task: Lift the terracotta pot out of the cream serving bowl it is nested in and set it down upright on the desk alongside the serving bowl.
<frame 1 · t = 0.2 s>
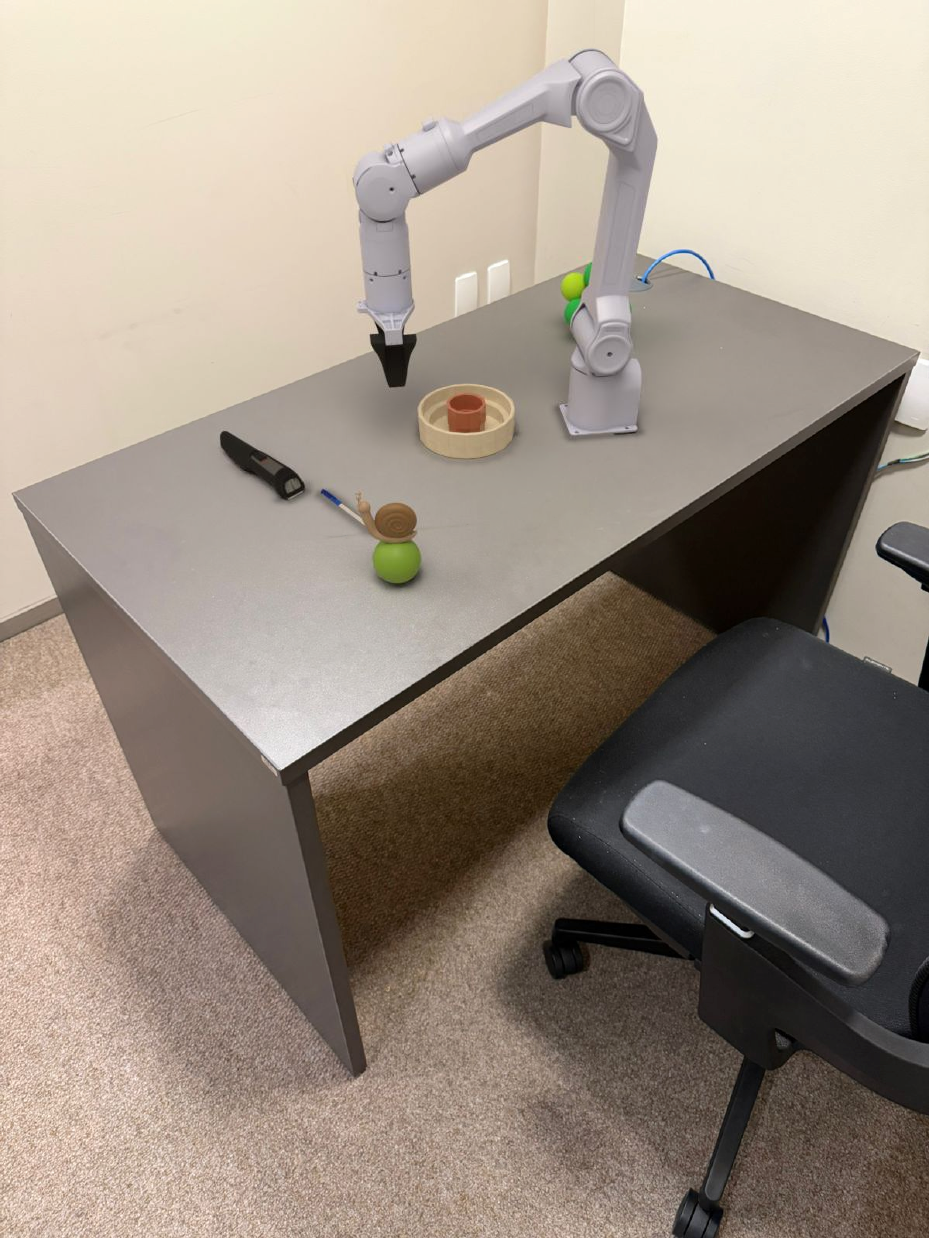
hand: (394, 371, 112), 10 cm above the table, tool pointing down, fingers open, 7 cm apart
cream bowl: (466, 435, 119), on the table, touching terracotta pot
electric trimmer: (261, 474, 113), on the table
terracotta pot: (466, 432, 119), resting on cream bowl
molecule model: (592, 336, 139), on the table
snail figurine: (394, 578, 98), on the table
ballpoint pen: (347, 513, 107), on the table
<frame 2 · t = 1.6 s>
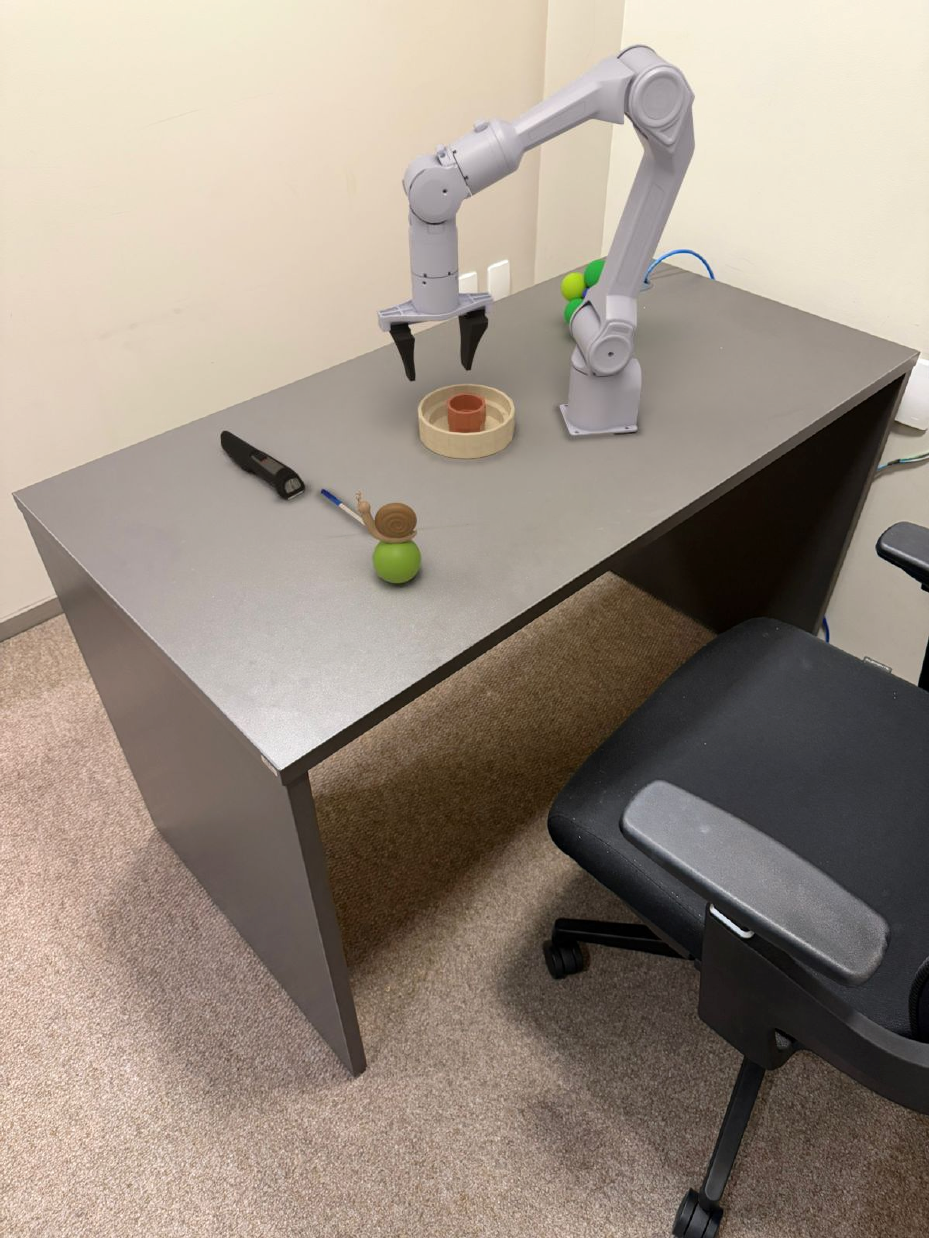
hand: (438, 372, 112), 10 cm above the table, tool pointing down, fingers open, 7 cm apart
nothing on the table moved.
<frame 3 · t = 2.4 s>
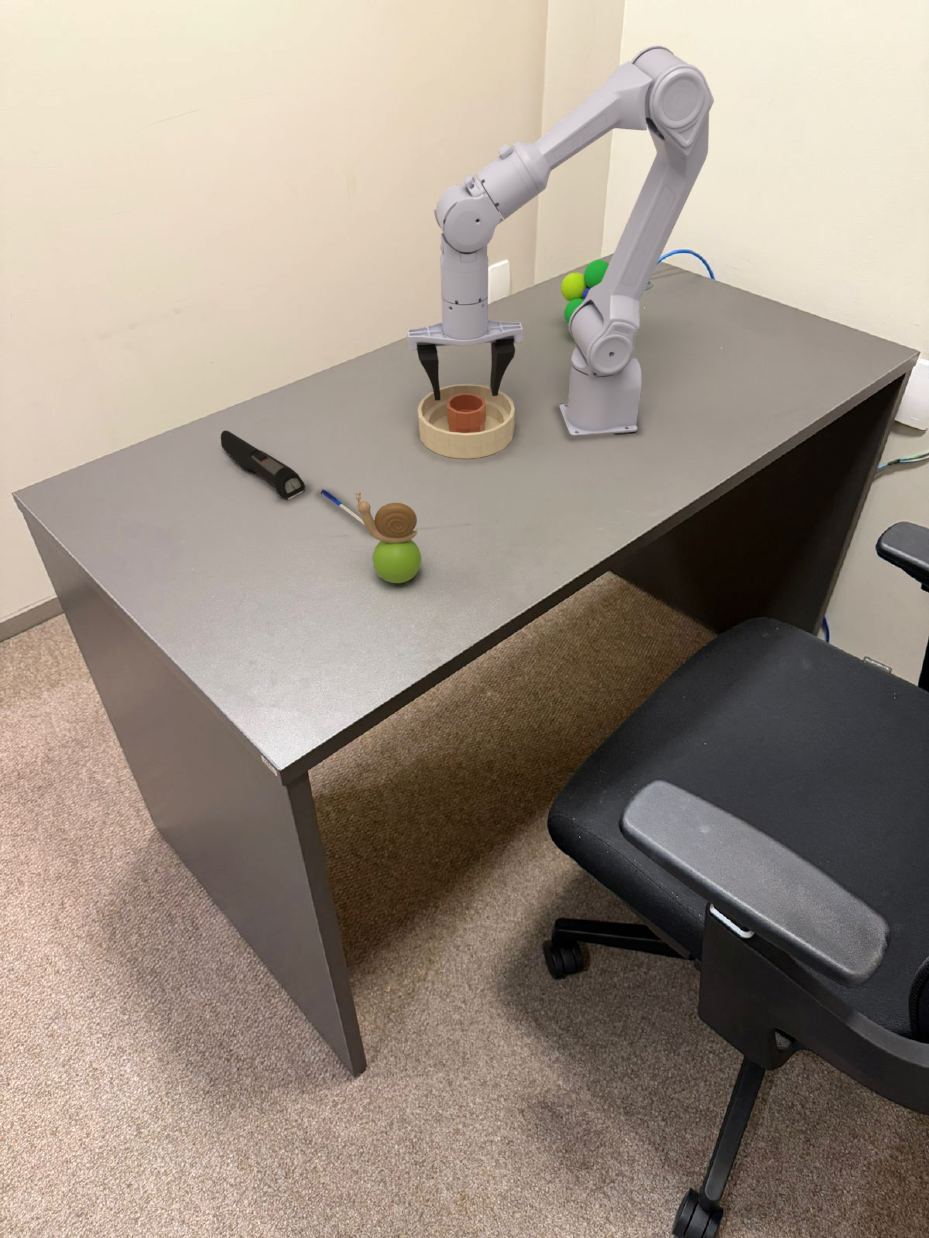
hand: (465, 394, 115), 6 cm above the table, tool pointing down, fingers open, 7 cm apart
nothing on the table moved.
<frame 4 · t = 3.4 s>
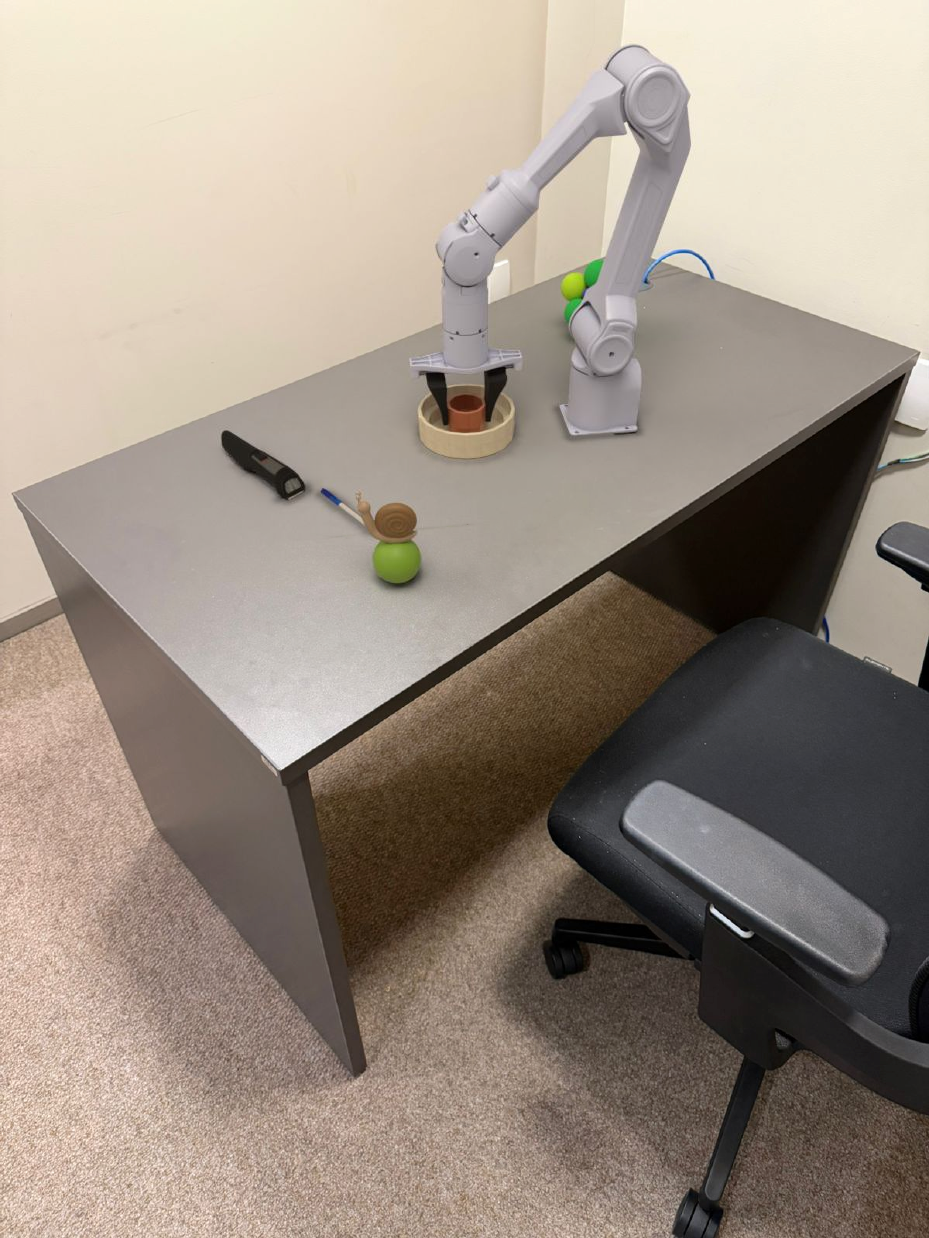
hand: (466, 419, 117), 2 cm above the table, tool pointing down, fingers closed on terracotta pot, 5 cm apart
terracotta pot: (466, 432, 119), resting on cream bowl, touching gripper
everything else where it was.
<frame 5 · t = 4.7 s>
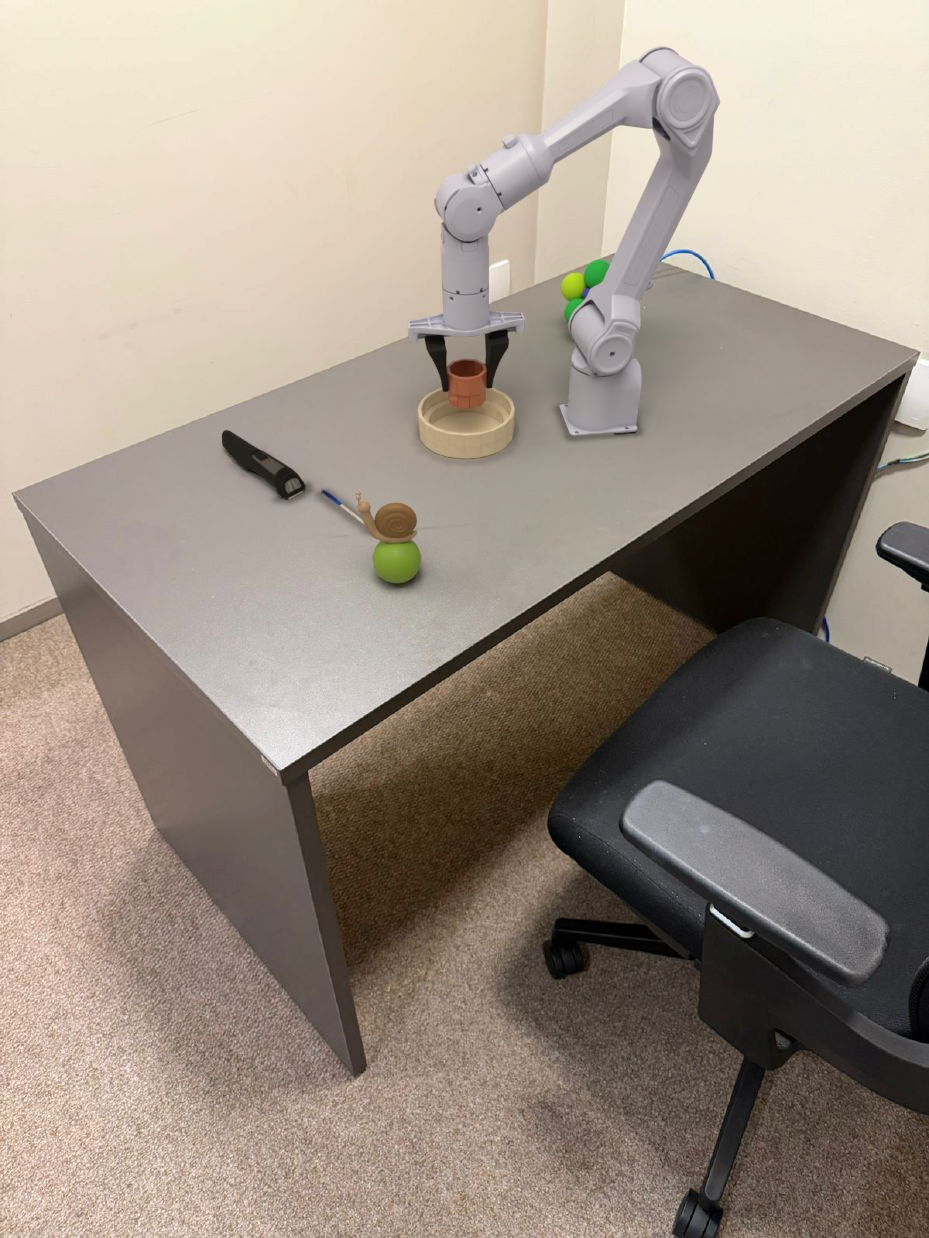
hand: (467, 386, 113), 8 cm above the table, tool pointing down, fingers closed on terracotta pot, 5 cm apart
cream bowl: (466, 435, 119), on the table
terracotta pot: (466, 399, 115), point 6 cm above the table, touching gripper
everything else where it was.
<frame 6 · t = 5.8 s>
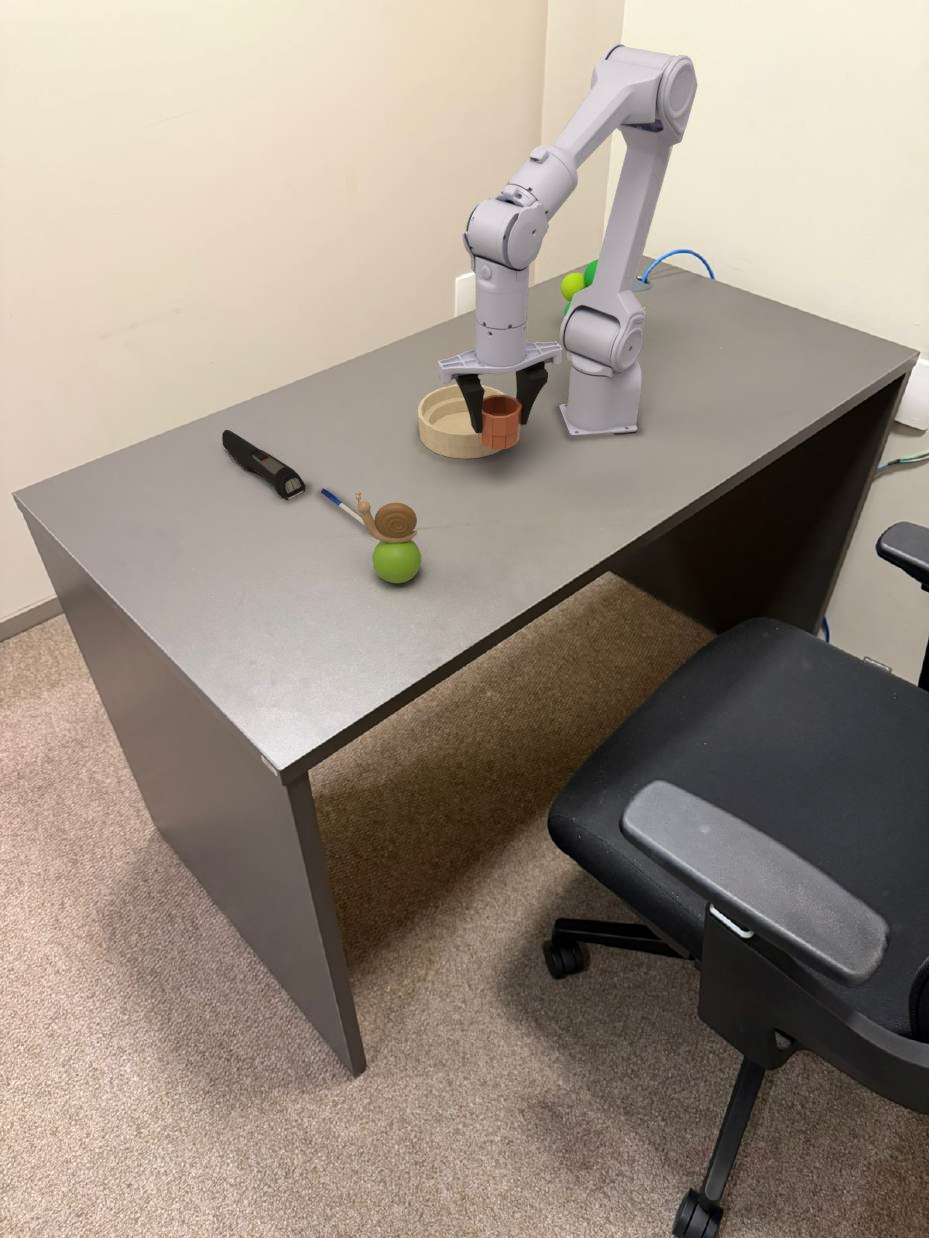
hand: (499, 424, 104), 9 cm above the table, tool pointing down, fingers closed on terracotta pot, 5 cm apart
terracotta pot: (498, 438, 106), point 7 cm above the table, touching gripper
everything else where it was.
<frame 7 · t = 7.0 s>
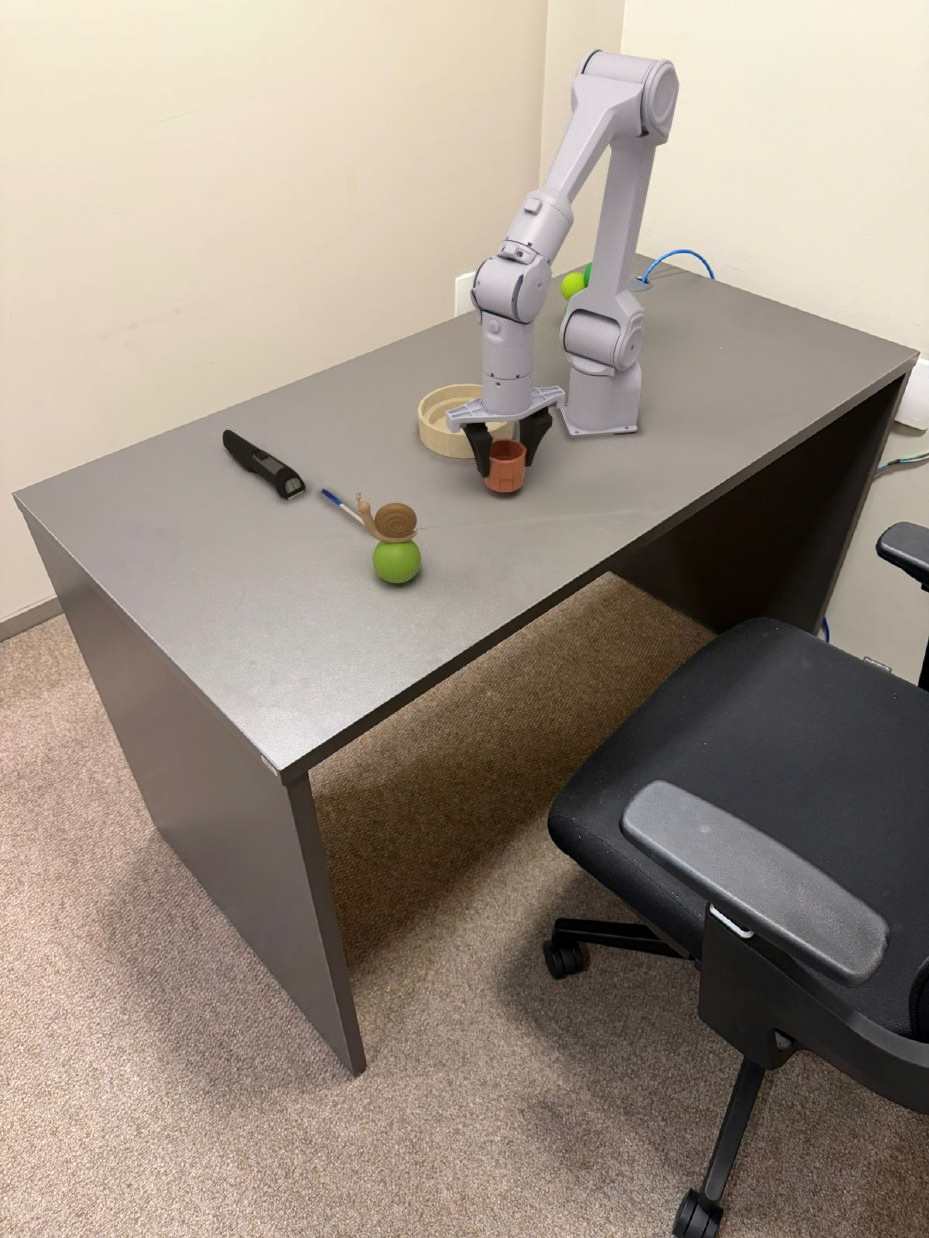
hand: (504, 467, 107), 4 cm above the table, tool pointing down, fingers closed on terracotta pot, 5 cm apart
terracotta pot: (504, 480, 108), point 2 cm above the table, touching gripper
everything else where it was.
when the fingers open (2 cm above the table, at t = 8.1 s): terracotta pot stays where it is, on the table.
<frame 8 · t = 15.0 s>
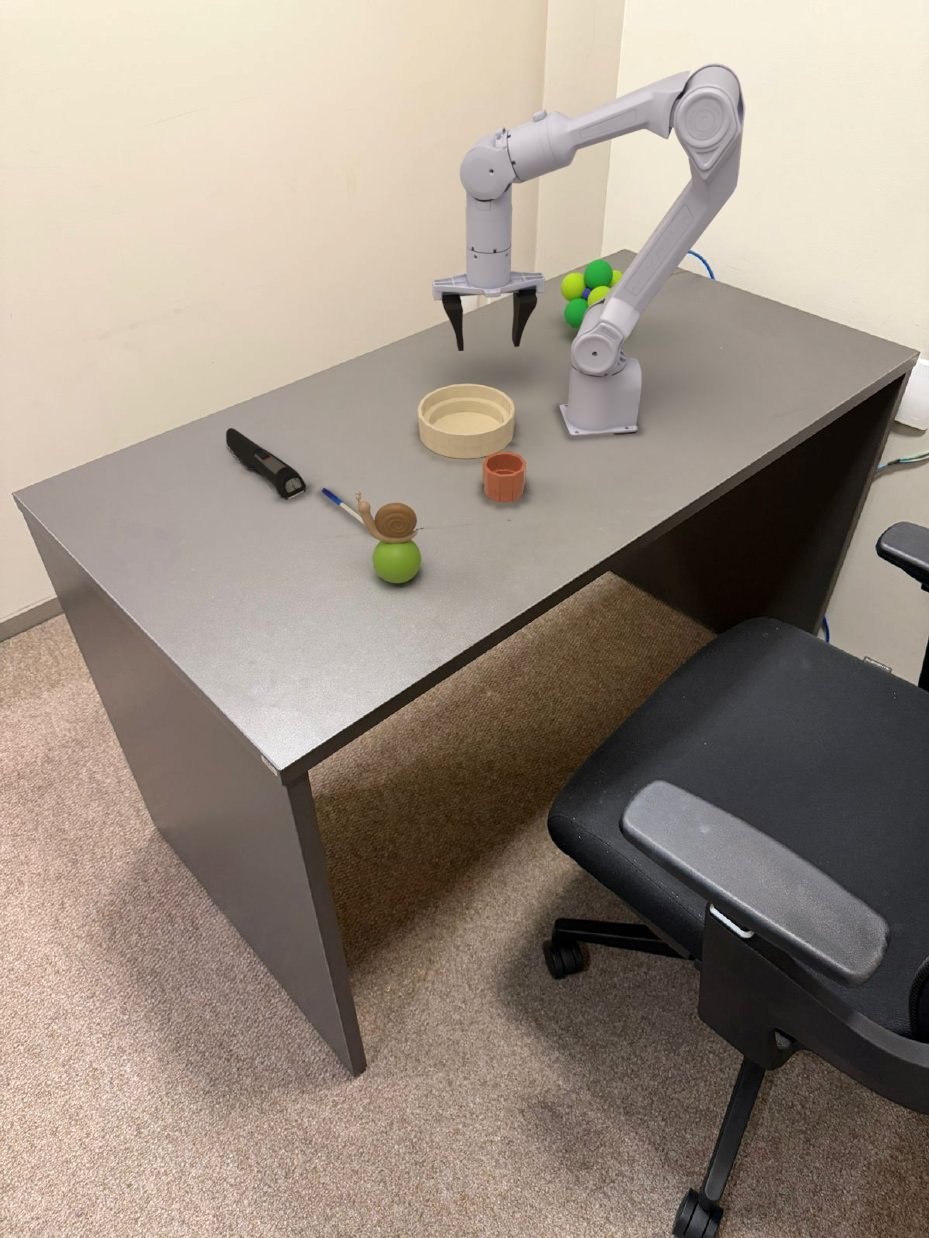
hand: (488, 345, 118), 9 cm above the table, tool pointing down, fingers open, 7 cm apart
terracotta pot: (503, 493, 109), on the table
everything else where it was.
at the end: terracotta pot 0.0 cm from the target spot, on the table; terracotta pot tilted 0°; cream bowl moved 0.0 cm from its start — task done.
